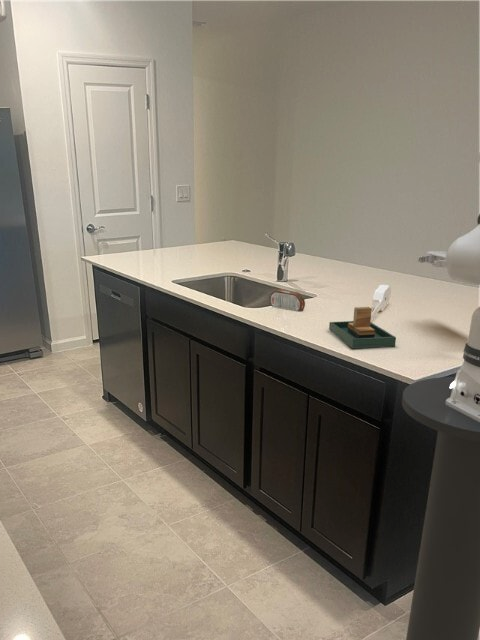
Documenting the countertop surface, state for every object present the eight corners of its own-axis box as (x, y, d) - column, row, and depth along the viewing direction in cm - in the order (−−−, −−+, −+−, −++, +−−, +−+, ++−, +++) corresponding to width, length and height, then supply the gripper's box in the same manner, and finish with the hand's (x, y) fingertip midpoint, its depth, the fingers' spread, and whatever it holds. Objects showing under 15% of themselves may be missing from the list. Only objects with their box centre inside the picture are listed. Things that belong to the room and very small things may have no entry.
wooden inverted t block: (374, 338, 173) (377, 311, 170) (359, 339, 173) (361, 311, 170) (361, 330, 183) (364, 304, 179) (347, 331, 182) (349, 304, 179)
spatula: (352, 335, 188) (364, 336, 186) (353, 313, 185) (365, 314, 183) (379, 301, 217) (389, 302, 215) (381, 281, 213) (391, 282, 211)
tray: (395, 346, 168) (396, 337, 167) (352, 348, 167) (353, 339, 166) (367, 328, 189) (368, 320, 188) (328, 330, 187) (329, 322, 186)
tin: (305, 314, 210) (306, 292, 207) (300, 316, 208) (301, 294, 205) (272, 308, 220) (273, 287, 217) (268, 309, 218) (268, 289, 214)
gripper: (451, 246, 181) (411, 247, 180) (489, 253, 162) (444, 255, 161) (448, 265, 183) (409, 266, 182) (485, 275, 164) (441, 277, 163)
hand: (426, 261), depth 171 cm, fingers open, 8 cm apart
